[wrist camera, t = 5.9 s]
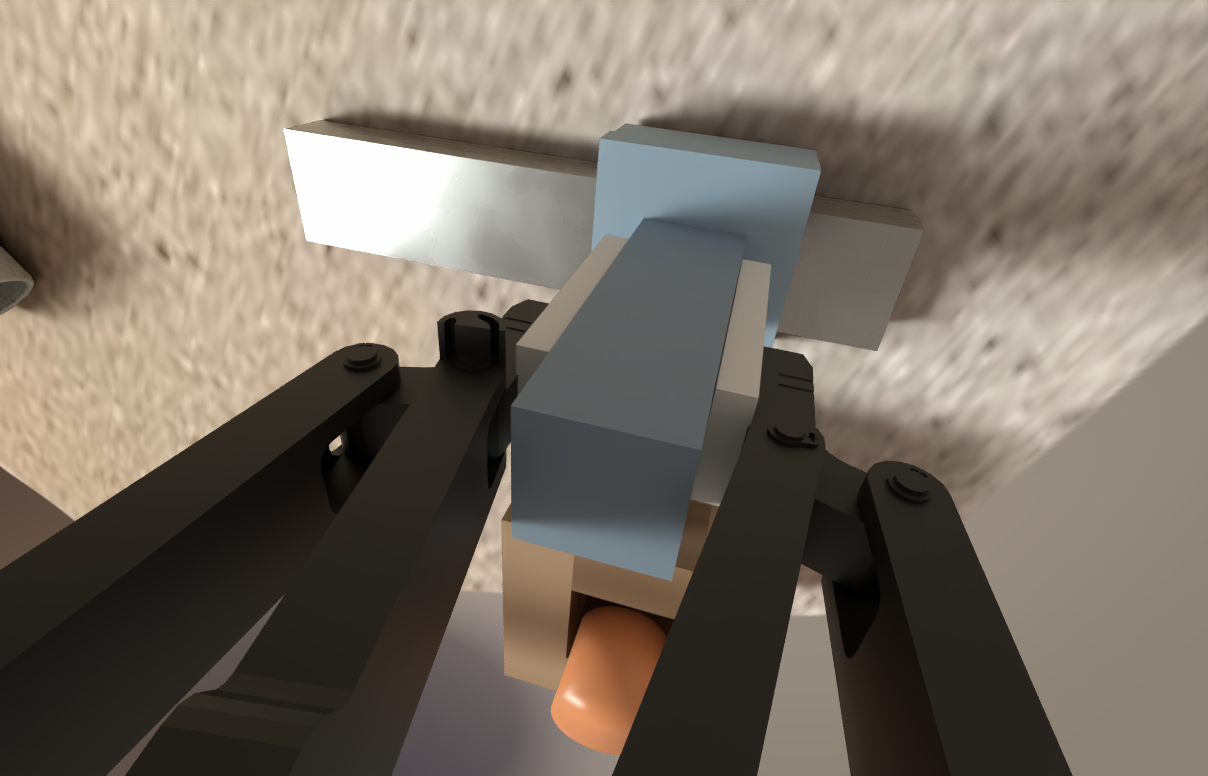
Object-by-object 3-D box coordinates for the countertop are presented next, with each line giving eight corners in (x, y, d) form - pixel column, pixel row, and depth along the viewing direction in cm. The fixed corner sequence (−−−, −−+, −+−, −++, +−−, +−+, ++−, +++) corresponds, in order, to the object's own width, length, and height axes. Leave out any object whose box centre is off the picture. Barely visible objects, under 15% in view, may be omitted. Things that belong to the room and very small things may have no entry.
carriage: (626, 120, 19) (410, 268, 8) (817, 146, 18) (848, 354, 7) (607, 314, 23) (444, 585, 12) (763, 346, 22) (734, 670, 11)
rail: (321, 120, 22) (284, 129, 21) (913, 210, 19) (924, 230, 17) (339, 224, 24) (306, 240, 23) (870, 324, 21) (877, 351, 19)
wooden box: (576, 378, 25) (501, 506, 19) (790, 425, 24) (789, 582, 17) (566, 533, 31) (504, 675, 24) (740, 579, 29) (724, 744, 23)
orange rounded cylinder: (583, 596, 21) (552, 681, 18) (674, 622, 20) (656, 714, 17) (578, 649, 22) (549, 735, 20) (661, 675, 22) (643, 766, 19)
